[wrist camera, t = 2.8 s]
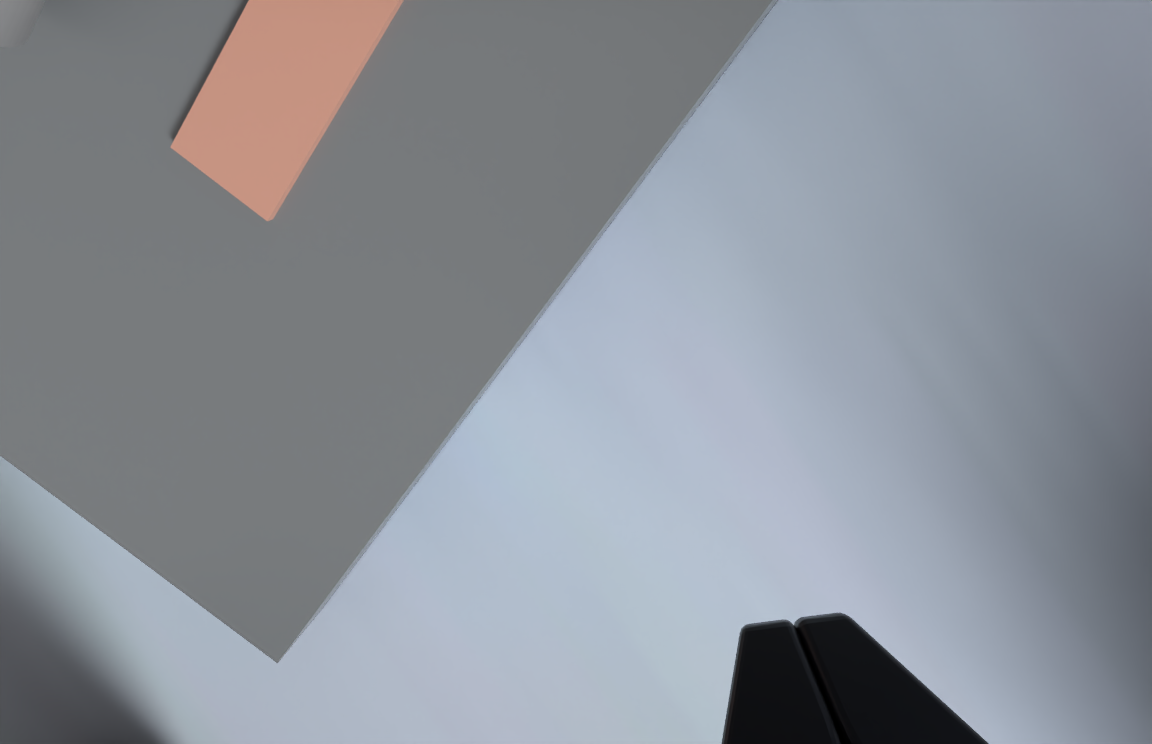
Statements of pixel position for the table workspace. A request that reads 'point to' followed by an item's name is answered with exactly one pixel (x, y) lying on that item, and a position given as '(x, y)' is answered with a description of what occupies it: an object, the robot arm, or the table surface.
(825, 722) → the robot arm
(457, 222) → the panel
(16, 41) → the handle
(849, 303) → the table surface
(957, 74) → the table surface
